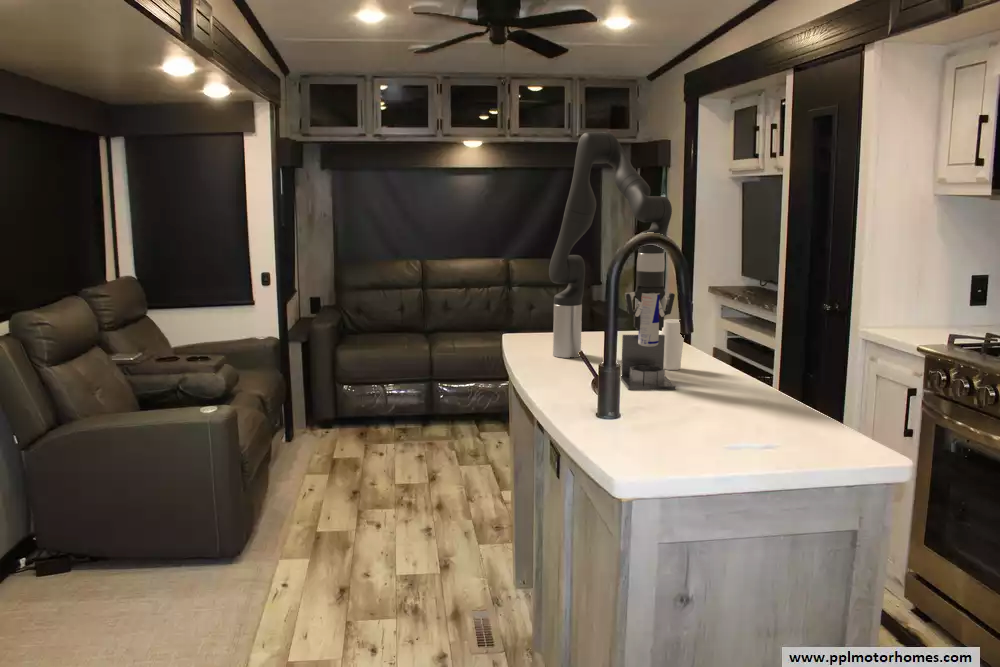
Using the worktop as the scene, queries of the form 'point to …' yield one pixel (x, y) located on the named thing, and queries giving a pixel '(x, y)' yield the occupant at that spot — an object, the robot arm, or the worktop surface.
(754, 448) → the worktop surface
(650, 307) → the beverage can
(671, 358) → the white tapered cylinder
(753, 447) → the worktop surface
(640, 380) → the cup bracket
